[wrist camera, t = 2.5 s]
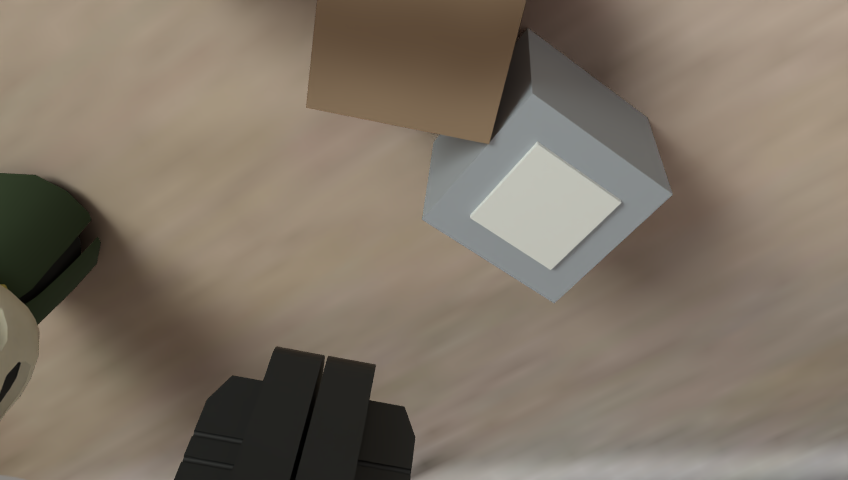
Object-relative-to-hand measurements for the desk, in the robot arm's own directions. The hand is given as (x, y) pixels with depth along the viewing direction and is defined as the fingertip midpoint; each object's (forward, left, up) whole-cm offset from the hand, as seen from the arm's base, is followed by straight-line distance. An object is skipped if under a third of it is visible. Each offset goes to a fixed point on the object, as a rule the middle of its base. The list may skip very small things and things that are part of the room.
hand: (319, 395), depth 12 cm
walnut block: (0, 0, -21) cm, 21 cm away
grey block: (-4, -6, -21) cm, 22 cm away
